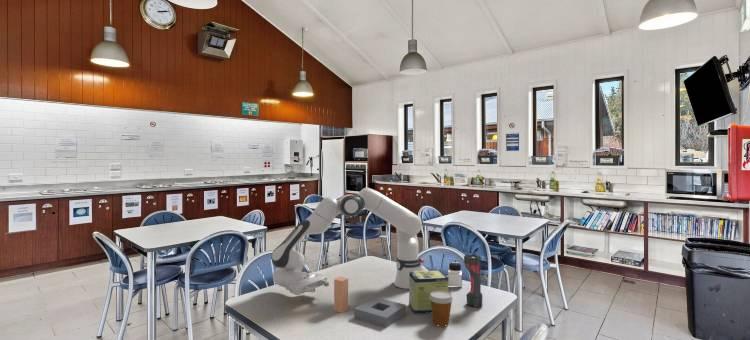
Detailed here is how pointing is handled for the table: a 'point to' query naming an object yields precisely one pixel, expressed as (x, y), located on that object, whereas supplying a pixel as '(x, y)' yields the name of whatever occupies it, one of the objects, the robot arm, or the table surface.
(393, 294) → the table surface
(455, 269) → the medicine bottle
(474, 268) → the flashlight
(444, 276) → the protein box
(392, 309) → the socket block
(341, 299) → the plug block
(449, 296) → the disposable coffee cup
